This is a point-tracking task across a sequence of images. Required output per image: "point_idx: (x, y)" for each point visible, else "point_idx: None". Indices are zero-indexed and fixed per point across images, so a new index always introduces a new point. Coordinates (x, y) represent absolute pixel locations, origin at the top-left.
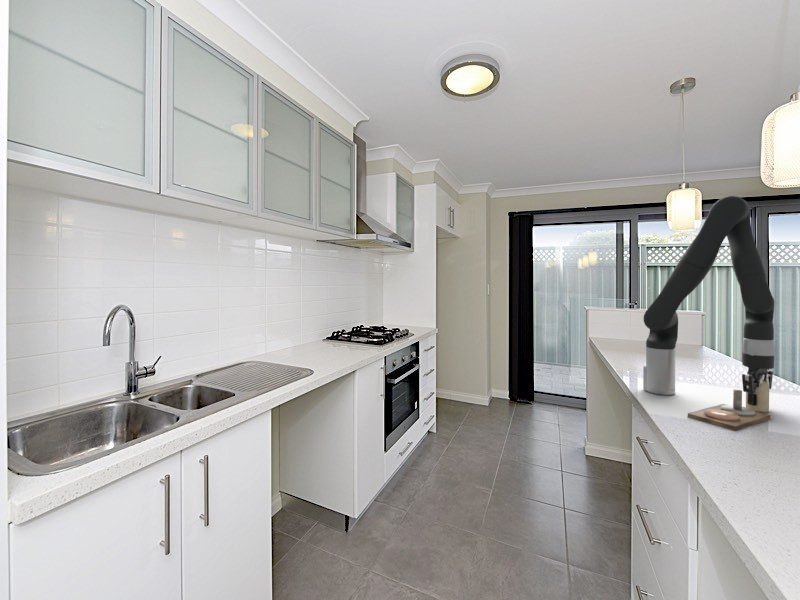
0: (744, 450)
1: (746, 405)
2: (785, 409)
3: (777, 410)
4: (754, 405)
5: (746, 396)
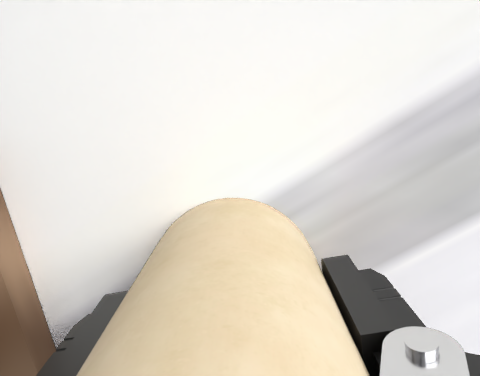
0: None
1: (159, 241)
2: (472, 336)
3: None
4: None
5: (132, 286)
